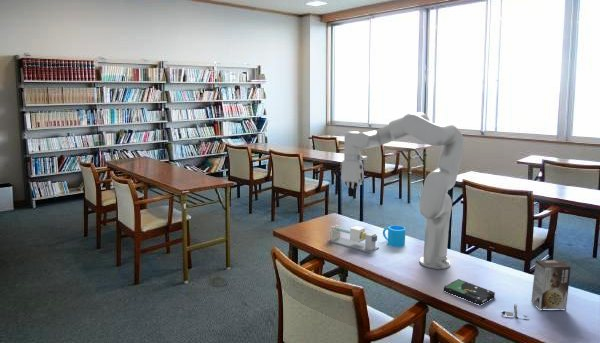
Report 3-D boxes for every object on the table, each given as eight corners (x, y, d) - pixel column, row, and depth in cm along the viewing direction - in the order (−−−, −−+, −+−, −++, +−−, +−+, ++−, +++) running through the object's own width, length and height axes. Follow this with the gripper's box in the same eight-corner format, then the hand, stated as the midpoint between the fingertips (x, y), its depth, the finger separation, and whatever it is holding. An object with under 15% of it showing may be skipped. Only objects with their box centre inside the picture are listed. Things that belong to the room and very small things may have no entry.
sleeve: (364, 239, 216) (365, 227, 215) (358, 242, 212) (359, 230, 211) (355, 237, 219) (356, 225, 218) (349, 240, 215) (350, 228, 214)
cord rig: (379, 248, 213) (380, 233, 211) (370, 253, 207) (371, 237, 205) (337, 237, 228) (337, 222, 227) (327, 241, 222) (327, 226, 221)
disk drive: (494, 299, 165) (457, 285, 176) (495, 292, 164) (458, 278, 175) (480, 308, 158) (442, 292, 169) (480, 300, 158) (443, 285, 169)
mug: (408, 244, 219) (409, 228, 218) (398, 248, 214) (399, 231, 212) (387, 238, 228) (388, 222, 226) (377, 241, 222) (378, 225, 221)
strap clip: (501, 317, 151) (502, 305, 150) (500, 313, 154) (501, 301, 153) (529, 321, 149) (530, 309, 148) (527, 316, 152) (529, 305, 151)
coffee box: (555, 302, 162) (560, 259, 159) (566, 311, 155) (572, 266, 152) (530, 302, 161) (534, 259, 158) (540, 311, 155) (545, 266, 152)
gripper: (370, 158, 211) (369, 196, 214) (343, 155, 220) (343, 192, 224) (361, 160, 205) (360, 199, 208) (334, 157, 215) (334, 195, 218)
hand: (351, 195), depth 216 cm, fingers closed
